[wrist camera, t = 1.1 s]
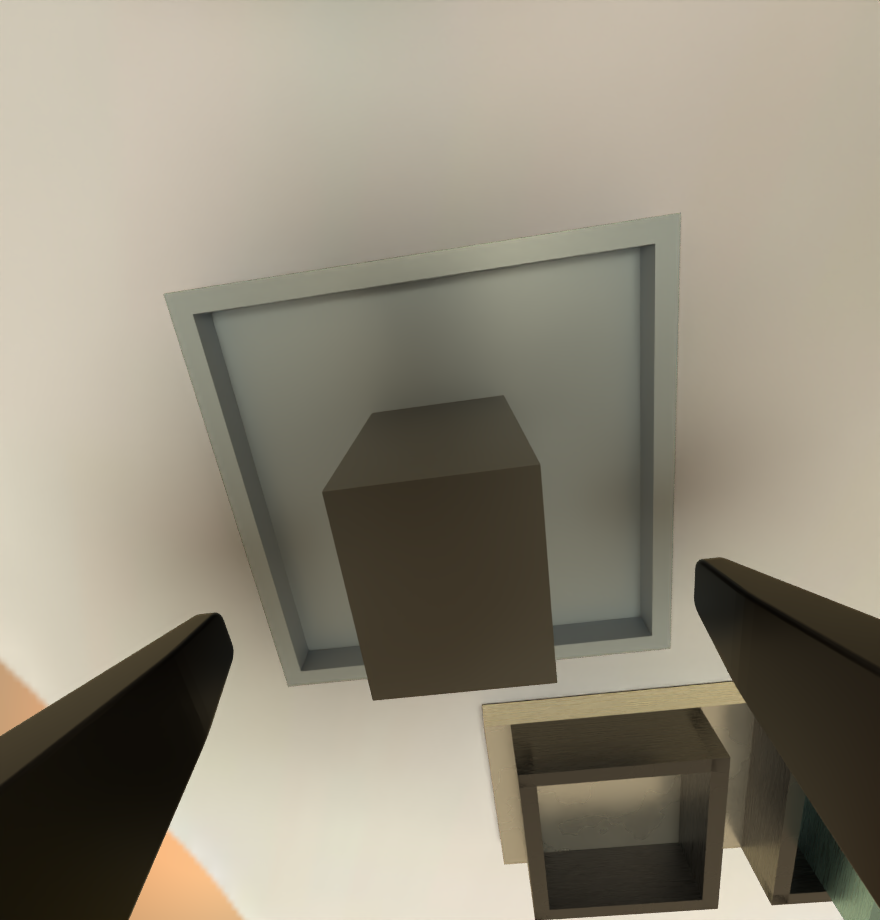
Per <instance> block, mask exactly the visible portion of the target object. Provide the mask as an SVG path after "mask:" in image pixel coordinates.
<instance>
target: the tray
mask: <svg viewBox="0 0 880 920" xmlns="http://www.w3.org/2000/svg"><path fill="white" fill-rule="evenodd" d="M680 227H681V213H676V214H670V215H663V216H657V217H651V218H644V219H638V220H631V221H625V222H619V223H612V224H606V225H600V226H593V227H587V228H580V229H574V230H568V231H561V232H555V233H548V234H542V235H536V236H529V237H523V238H517V239H510V240H504V241H497V242H491V243H485V244H478V245H472V246H466V247H459V248H453V249H446V250H440V251H434V252H427V253H421V254H415V255H408V256H402V257H395V258H389V259H383V260H376V261H370V262H364V263H357V264H351V265H344V266H338V267H332V268H325V269H319V270H312V271H306V272H300V273H293V274H287V275H281V276H274V277H268V278H261V279H255V280H249V281H242V282H236V283H230V284H223V285H217V286H210V287H204V288H198V289H191V290H185V291H179V292H172V293H166V294H164V297H165V300H166V303H167V306H168V310H169V313H170V316H171V319H172V322H173V325H174V329H175V332H176V335H177V338H178V341H179V344H180V347H181V351H182V354H183V357H184V360H185V363H186V366H187V369H188V373H189V376H190V379H191V382H192V385H193V388H194V391H195V395H196V398H197V401H198V404H199V407H200V410H201V414H202V417H203V420H204V423H205V426H206V429H207V432H208V436H209V439H210V442H211V445H212V448H213V451H214V454H215V458H216V461H217V464H218V467H219V470H220V473H221V476H222V480H223V483H224V486H225V489H226V492H227V495H228V498H229V502H230V505H231V508H232V511H233V514H234V517H235V521H236V524H237V527H238V530H239V533H240V536H241V539H242V543H243V546H244V549H245V552H246V555H247V558H248V561H249V565H250V568H251V571H252V574H253V577H254V580H255V583H256V587H257V590H258V593H259V596H260V599H261V602H262V606H263V609H264V612H265V615H266V618H267V621H268V624H269V628H270V631H271V634H272V637H273V640H274V643H275V646H276V650H277V653H278V656H279V659H280V662H281V665H282V668H283V672H284V675H285V678H286V681H287V684H288V687H289V686H299V685H309V684H319V683H329V682H339V681H349V680H359V679H368V678H367V674H366V670H365V666H364V662H363V658H362V654H361V650H360V646H359V642H358V638H357V633H356V629H355V625H354V621H353V617H352V613H351V609H350V605H349V601H348V597H347V593H346V589H345V584H344V580H343V576H342V572H341V568H340V564H339V560H338V556H337V552H336V548H335V544H334V540H333V535H332V531H331V527H330V523H329V519H328V515H327V511H326V507H325V503H324V499H323V495H322V491H323V489H324V488H325V486H326V484H327V483H328V481H329V480H330V478H331V477H332V475H333V473H334V472H335V470H336V469H337V467H338V466H339V464H340V462H341V461H342V459H343V458H344V456H345V455H346V453H347V451H348V450H349V448H350V447H351V445H352V444H353V442H354V440H355V439H356V437H357V436H358V434H359V433H360V431H361V429H362V428H363V426H364V425H365V423H366V422H367V420H368V418H369V417H370V415H371V414H372V413H376V412H383V411H390V410H398V409H405V408H412V407H420V406H427V405H435V404H442V403H449V402H457V401H464V400H471V399H479V398H486V397H493V396H501V395H504V397H505V399H506V400H507V402H508V404H509V406H510V408H511V410H512V412H513V414H514V415H515V417H516V419H517V421H518V423H519V425H520V427H521V429H522V431H523V432H524V434H525V436H526V438H527V440H528V442H529V444H530V446H531V447H532V449H533V451H534V453H535V455H536V457H537V459H538V461H539V462H540V465H541V478H542V491H543V504H544V517H545V530H546V543H547V557H548V570H549V583H550V596H551V609H552V622H553V635H554V648H555V660H560V659H570V658H581V657H591V656H601V655H611V654H621V653H631V652H641V651H651V650H661V649H670V641H671V600H672V558H673V517H674V476H675V434H676V393H677V351H678V310H679V268H680Z"/></svg>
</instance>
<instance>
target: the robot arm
mask: <svg viewBox="0 0 880 920" xmlns="http://www.w3.org/2000/svg"><path fill="white" fill-rule="evenodd" d="M694 602H695V606H696V609H697V612H698V614H699V616H700V618H701V620H702V622H703V624H704V626H705V628H706V630H707V632H708V634H709V636H710V637H711V639H712V641H713V643H714V645H715V647H716V649H717V651H718V653H719V655H720V657H721V659H722V661H723V663H724V665H725V667H726V669H727V671H728V673H729V675H730V677H731V678H732V680H733V682H734V684H735V686H736V688H737V689H738V691H739V693H740V694H741V696H742V697H743V699H744V701H745V702H746V704H747V705H748V707H749V708H750V710H751V712H752V713H753V715H754V716H755V718H756V719H757V721H758V722H759V724H760V725H761V727H762V728H763V730H764V732H765V733H766V735H767V736H768V738H769V739H770V741H771V742H772V744H773V745H774V747H775V748H776V750H777V752H778V753H779V755H780V756H781V758H782V759H783V761H784V762H785V764H786V765H787V767H788V769H789V770H790V772H791V773H792V775H793V776H794V778H795V779H796V781H797V782H798V784H799V785H800V787H801V789H802V790H803V792H804V793H805V795H806V796H807V798H808V799H809V801H810V802H811V804H812V805H813V807H814V809H815V810H816V812H817V813H818V815H819V816H820V818H821V819H822V821H823V822H824V824H825V826H826V827H827V829H828V830H829V832H830V833H831V835H832V836H833V838H834V839H835V841H836V842H837V844H838V846H839V847H840V849H841V850H842V852H843V853H844V855H845V856H846V858H847V859H848V861H849V862H850V864H851V866H852V867H853V869H854V870H855V872H856V873H857V875H858V876H859V878H860V879H861V881H862V883H863V884H864V886H865V887H866V889H867V890H868V892H869V893H870V895H871V896H872V898H873V899H874V901H875V903H876V904H877V906H878V907H879V909H880V619H878V618H875V617H873V616H870V615H868V614H865V613H863V612H860V611H858V610H855V609H853V608H850V607H847V606H845V605H842V604H840V603H837V602H835V601H832V600H830V599H827V598H824V597H822V596H819V595H817V594H814V593H812V592H809V591H807V590H804V589H801V588H799V587H796V586H794V585H791V584H789V583H786V582H784V581H781V580H779V579H776V578H773V577H771V576H768V575H766V574H763V573H761V572H758V571H756V570H753V569H751V568H748V567H745V566H743V565H740V564H738V563H735V562H733V561H730V560H728V559H725V558H721V557H718V558H709V559H701V560H699V561H698V562H697V564H696V567H695V588H694ZM232 660H233V645H232V642H231V639H230V636H229V634H228V631H227V628H226V625H225V622H224V620H223V618H222V616H221V615H220V614H218V613H207V614H199V615H196V616H194V617H192V618H191V619H189V620H187V621H186V622H184V623H183V624H181V625H179V626H178V627H176V628H175V629H173V630H171V631H170V632H168V633H166V634H165V635H163V636H162V637H160V638H158V639H157V640H155V641H153V642H152V643H150V644H149V645H147V646H145V647H144V648H142V649H141V650H139V651H137V652H136V653H134V654H132V655H131V656H129V657H128V658H126V659H124V660H123V661H121V662H119V663H118V664H116V665H115V666H113V667H111V668H110V669H108V670H107V671H105V672H103V673H102V674H100V675H98V676H97V677H95V678H94V679H92V680H90V681H89V682H87V683H86V684H84V685H82V686H81V687H79V688H77V689H76V690H74V691H73V692H71V693H69V694H68V695H66V696H64V697H63V698H61V699H60V700H58V701H56V702H55V703H53V704H52V705H50V706H48V707H47V708H45V709H43V710H42V711H40V712H39V713H37V714H35V715H34V716H32V717H30V718H29V719H27V720H26V721H24V722H22V723H21V724H20V725H18V726H16V727H14V728H13V729H11V730H9V731H8V732H6V733H5V734H3V735H2V736H0V920H129V918H130V916H131V913H132V911H133V909H134V906H135V904H136V902H137V900H138V897H139V895H140V892H141V890H142V888H143V886H144V883H145V881H146V879H147V876H148V874H149V872H150V869H151V867H152V865H153V862H154V860H155V858H156V855H157V853H158V851H159V848H160V846H161V844H162V841H163V839H164V837H165V835H166V832H167V830H168V828H169V825H170V823H171V821H172V818H173V816H174V814H175V811H176V809H177V807H178V804H179V802H180V800H181V798H182V795H183V793H184V791H185V788H186V786H187V784H188V781H189V779H190V777H191V774H192V772H193V770H194V767H195V765H196V763H197V760H198V758H199V756H200V753H201V751H202V749H203V746H204V744H205V741H206V739H207V736H208V733H209V731H210V728H211V725H212V722H213V719H214V716H215V713H216V710H217V707H218V703H219V700H220V697H221V694H222V691H223V688H224V685H225V682H226V679H227V676H228V672H229V669H230V666H231V663H232Z"/></svg>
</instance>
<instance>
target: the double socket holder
mask: <svg viewBox="0 0 880 920" xmlns="http://www.w3.org/2000/svg"><path fill="white" fill-rule="evenodd" d="M482 708H483V720H484V730H485V737H486V744H487V750H488V757H489V764H490V771H491V778H492V784H493V791H494V798H495V805H496V811H497V818H498V825H499V832H500V839H501V845H502V852H503V859H504V864H517V863H527V864H528V871H529V878H530V886H531V893H532V900H533V908H534V915H535V920H551V919H566V918H582V917H597V916H613V915H628V914H643V913H659V912H674V911H690V910H705V909H718V901H719V889H720V877H721V865H722V853H723V849H724V848H738V847H741V848H742V850H743V852H744V854H745V856H746V857H747V859H748V861H749V863H750V865H751V867H752V869H753V871H754V873H755V875H756V876H757V878H758V880H759V882H760V884H761V886H762V888H763V890H764V892H765V894H766V895H767V897H768V899H769V901H770V903H771V905H782V904H798V903H813V902H829V901H833V903H834V904H835V906H836V908H837V909H838V911H839V912H840V914H841V916H842V917H843V919H844V920H880V909H879V907H878V906H877V904H876V903H875V901H874V899H873V898H872V896H871V895H870V893H869V892H868V890H867V889H866V887H865V886H864V884H863V883H862V881H861V879H860V878H859V876H858V875H857V873H856V872H855V870H854V869H853V867H852V866H851V864H850V862H849V861H848V859H847V858H846V856H845V855H844V853H843V852H842V850H841V849H840V847H839V846H838V844H837V842H836V841H835V839H834V838H833V836H832V835H831V833H830V832H829V830H828V829H827V827H826V826H825V824H824V822H823V821H822V819H821V818H820V816H819V815H818V813H817V812H816V810H815V809H814V807H813V805H812V804H811V802H810V801H809V799H808V798H807V796H806V795H805V793H804V792H803V790H802V789H801V787H800V785H799V784H798V782H797V781H796V779H795V778H794V776H793V775H792V773H791V772H790V770H789V769H788V767H787V765H786V764H785V762H784V761H783V759H782V758H781V756H780V755H779V753H778V752H777V750H776V748H775V747H774V745H773V744H772V742H771V741H770V739H769V738H768V736H767V735H766V733H765V732H764V730H763V728H762V727H761V725H760V724H759V722H758V721H757V719H756V718H755V716H754V715H753V713H752V712H751V710H750V708H749V707H748V705H747V704H746V702H745V701H744V699H743V697H742V696H741V694H740V693H739V691H738V689H737V688H736V686H735V684H734V682H723V683H712V684H702V685H691V686H681V687H670V688H659V689H649V690H638V691H628V692H617V693H606V694H596V695H585V696H575V697H564V698H553V699H543V700H532V701H522V702H511V703H500V704H490V705H482Z"/></svg>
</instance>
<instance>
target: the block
mask: <svg viewBox="0 0 880 920" xmlns="http://www.w3.org/2000/svg"><path fill="white" fill-rule="evenodd" d="M322 495H323V499H324V503H325V507H326V511H327V515H328V519H329V523H330V527H331V531H332V535H333V540H334V544H335V548H336V552H337V556H338V560H339V564H340V568H341V572H342V576H343V580H344V584H345V589H346V593H347V597H348V601H349V605H350V609H351V613H352V617H353V621H354V625H355V629H356V633H357V638H358V642H359V646H360V650H361V654H362V658H363V662H364V666H365V670H366V674H367V678H368V683H369V687H370V691H371V695H372V699H373V700H384V699H394V698H405V697H415V696H425V695H436V694H446V693H456V692H467V691H477V690H488V689H498V688H508V687H519V686H529V685H539V684H550V683H557V675H556V661H555V648H554V635H553V622H552V609H551V596H550V583H549V570H548V557H547V543H546V530H545V517H544V504H543V491H542V478H541V465H540V462H539V461H538V459H537V457H536V455H535V453H534V451H533V449H532V447H531V446H530V444H529V442H528V440H527V438H526V436H525V434H524V432H523V431H522V429H521V427H520V425H519V423H518V421H517V419H516V417H515V415H514V414H513V412H512V410H511V408H510V406H509V404H508V402H507V400H506V399H505V397H504V395H501V396H493V397H486V398H479V399H471V400H464V401H457V402H449V403H442V404H435V405H427V406H420V407H412V408H405V409H398V410H390V411H383V412H376V413H372V414H371V415H370V417H369V418H368V420H367V422H366V423H365V425H364V426H363V428H362V429H361V431H360V433H359V434H358V436H357V437H356V439H355V440H354V442H353V444H352V445H351V447H350V448H349V450H348V451H347V453H346V455H345V456H344V458H343V459H342V461H341V462H340V464H339V466H338V467H337V469H336V470H335V472H334V473H333V475H332V477H331V478H330V480H329V481H328V483H327V484H326V486H325V488H324V489H323V491H322Z"/></svg>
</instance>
